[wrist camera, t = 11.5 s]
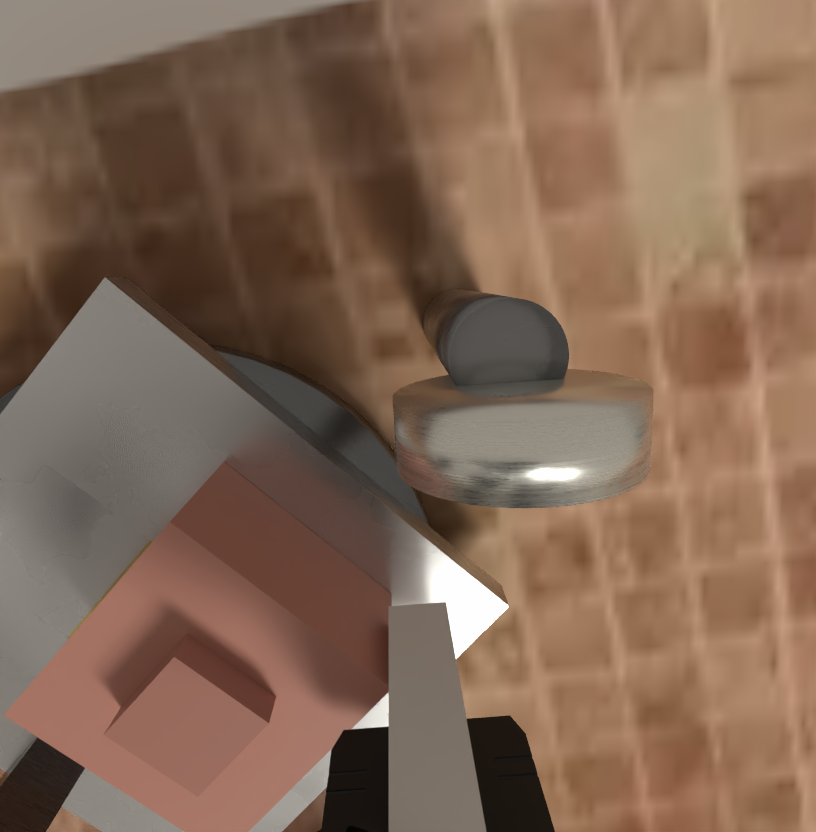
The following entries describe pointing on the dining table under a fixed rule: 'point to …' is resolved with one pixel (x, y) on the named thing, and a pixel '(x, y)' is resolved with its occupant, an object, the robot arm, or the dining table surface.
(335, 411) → the turntable base
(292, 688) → the cover
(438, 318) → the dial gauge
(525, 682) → the dining table surface
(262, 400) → the turntable
